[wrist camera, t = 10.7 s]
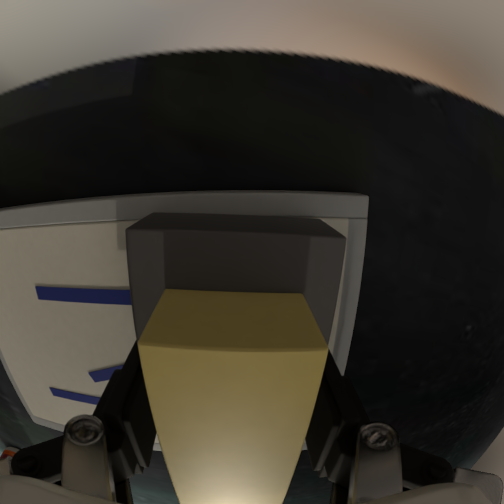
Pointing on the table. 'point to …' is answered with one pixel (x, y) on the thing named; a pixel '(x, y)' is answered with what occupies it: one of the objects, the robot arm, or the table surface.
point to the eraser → (232, 344)
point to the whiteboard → (122, 285)
